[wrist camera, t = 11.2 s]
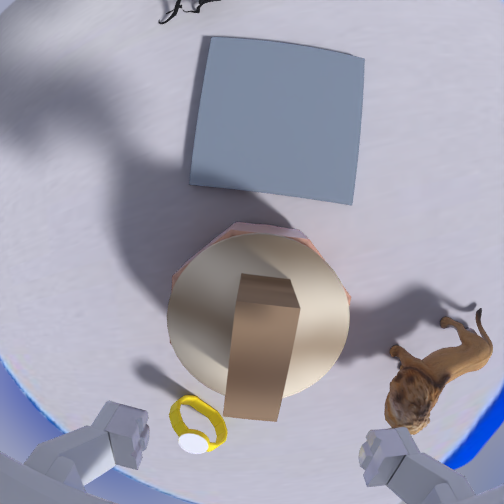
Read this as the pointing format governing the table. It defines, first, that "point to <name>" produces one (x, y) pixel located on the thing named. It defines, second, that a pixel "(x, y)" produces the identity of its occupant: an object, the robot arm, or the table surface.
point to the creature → (201, 1)
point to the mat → (279, 120)
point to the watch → (193, 438)
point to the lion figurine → (432, 375)
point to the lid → (258, 321)
